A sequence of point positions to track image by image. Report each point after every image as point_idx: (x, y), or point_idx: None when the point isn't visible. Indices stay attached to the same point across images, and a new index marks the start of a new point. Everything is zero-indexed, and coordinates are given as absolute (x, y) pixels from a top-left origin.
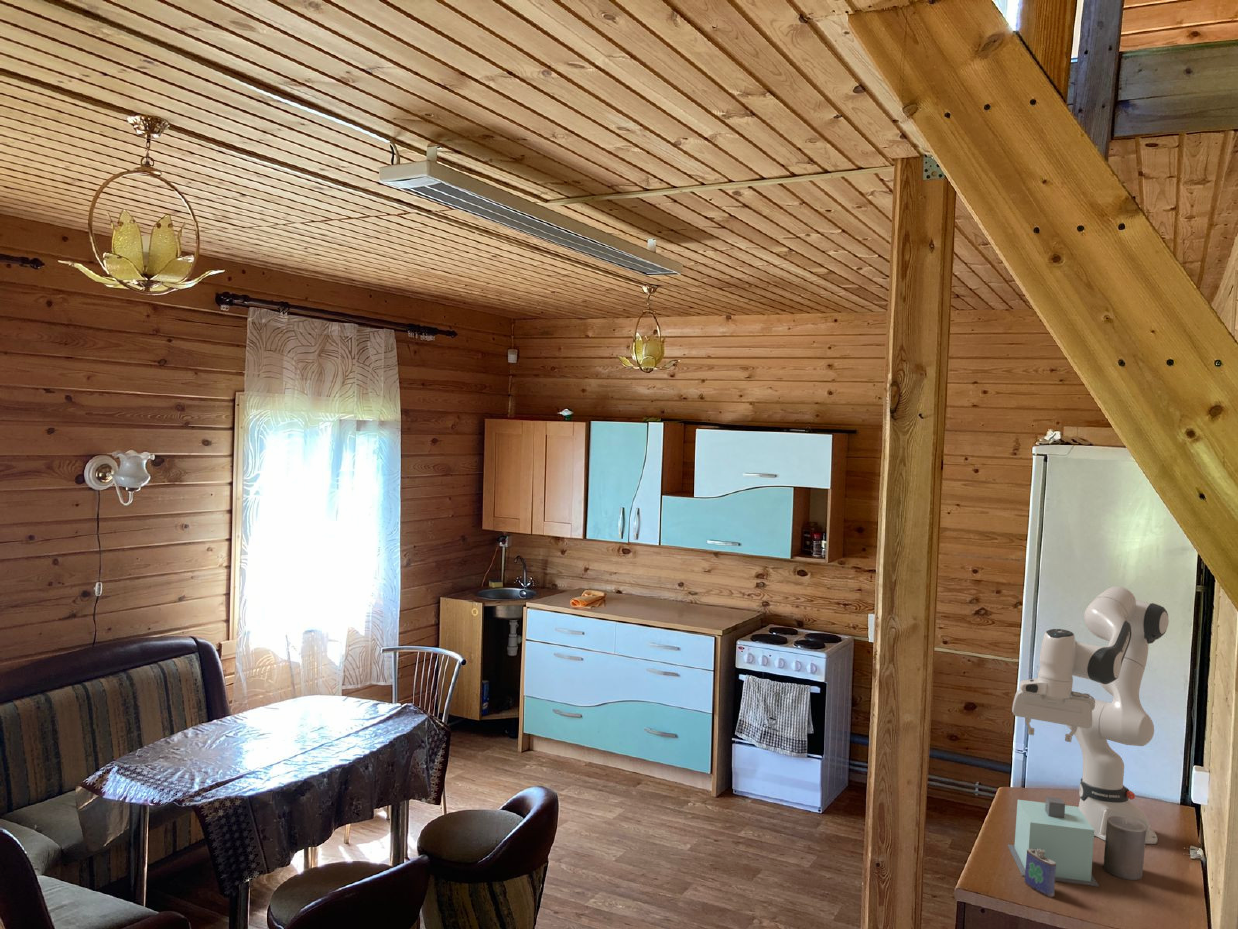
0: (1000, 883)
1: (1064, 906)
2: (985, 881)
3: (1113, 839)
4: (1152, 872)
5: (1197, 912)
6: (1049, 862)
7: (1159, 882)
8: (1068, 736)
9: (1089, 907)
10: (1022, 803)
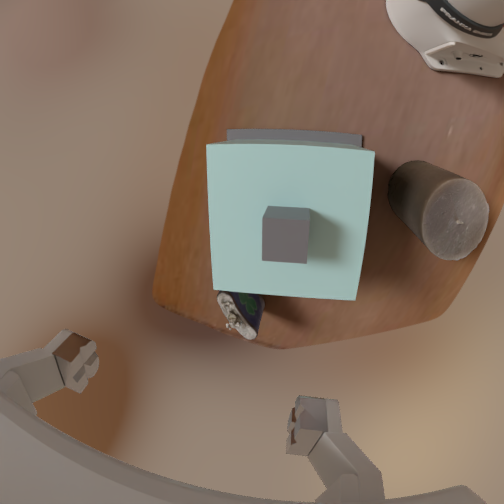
0: (194, 279)
1: (272, 325)
2: (174, 277)
3: (413, 229)
4: None
5: (450, 301)
6: (245, 336)
7: None
8: (302, 450)
9: (307, 321)
10: (214, 171)
